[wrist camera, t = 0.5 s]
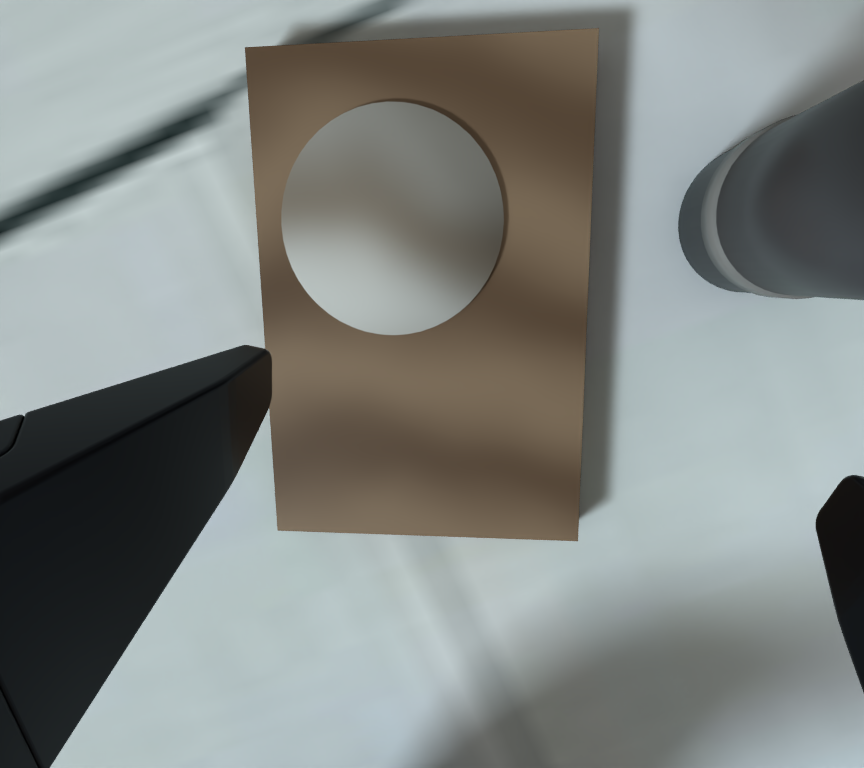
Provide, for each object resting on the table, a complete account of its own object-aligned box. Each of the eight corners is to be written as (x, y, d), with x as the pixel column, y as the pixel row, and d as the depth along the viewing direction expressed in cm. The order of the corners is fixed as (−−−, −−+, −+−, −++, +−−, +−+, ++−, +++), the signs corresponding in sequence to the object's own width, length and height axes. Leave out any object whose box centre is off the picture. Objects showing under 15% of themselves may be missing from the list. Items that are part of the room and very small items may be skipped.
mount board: (572, 524, 23) (578, 543, 21) (290, 515, 24) (275, 532, 23) (590, 46, 20) (599, 25, 18) (262, 63, 21) (242, 45, 19)
